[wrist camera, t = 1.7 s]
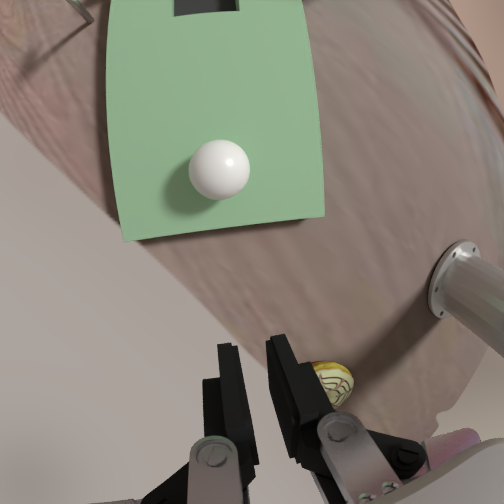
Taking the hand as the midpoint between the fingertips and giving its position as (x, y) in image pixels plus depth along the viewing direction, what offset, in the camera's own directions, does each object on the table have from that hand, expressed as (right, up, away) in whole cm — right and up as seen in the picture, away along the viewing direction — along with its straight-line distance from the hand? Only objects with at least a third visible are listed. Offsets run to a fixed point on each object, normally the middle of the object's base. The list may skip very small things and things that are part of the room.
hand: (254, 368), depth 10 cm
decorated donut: (+8, -14, +25) cm, 30 cm away
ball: (-2, +11, +9) cm, 14 cm away
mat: (-4, +21, +10) cm, 24 cm away
